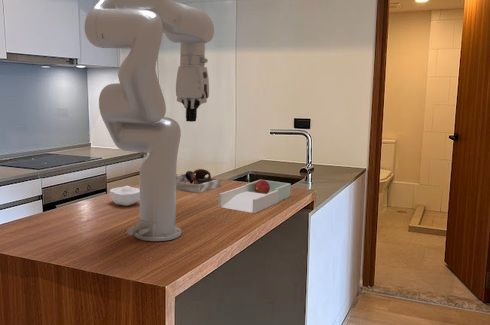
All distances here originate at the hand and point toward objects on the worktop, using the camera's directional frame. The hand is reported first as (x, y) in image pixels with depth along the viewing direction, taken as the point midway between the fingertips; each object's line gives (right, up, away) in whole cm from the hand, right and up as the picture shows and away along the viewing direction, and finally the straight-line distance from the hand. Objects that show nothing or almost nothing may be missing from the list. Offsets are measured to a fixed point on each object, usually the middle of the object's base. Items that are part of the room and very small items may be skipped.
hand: (191, 121), depth 146 cm
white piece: (+18, -29, +15) cm, 38 cm away
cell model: (-23, -27, +9) cm, 37 cm away
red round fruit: (+21, -23, +25) cm, 40 cm away
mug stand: (-5, -23, +42) cm, 49 cm away
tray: (+26, -26, +29) cm, 47 cm away
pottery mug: (-2, -23, +44) cm, 49 cm away
